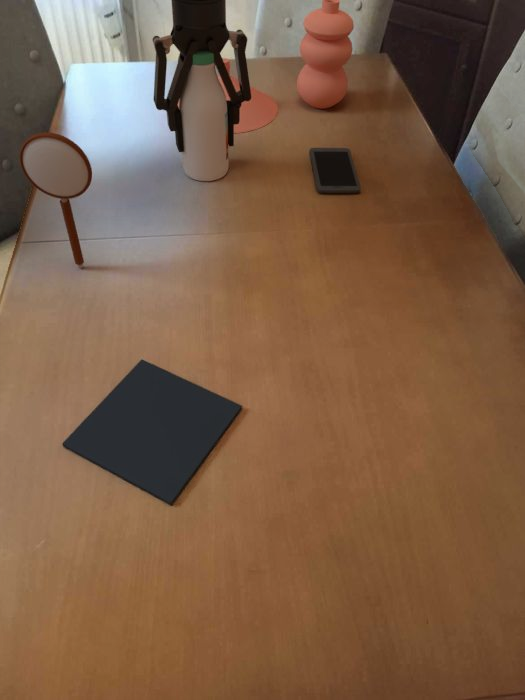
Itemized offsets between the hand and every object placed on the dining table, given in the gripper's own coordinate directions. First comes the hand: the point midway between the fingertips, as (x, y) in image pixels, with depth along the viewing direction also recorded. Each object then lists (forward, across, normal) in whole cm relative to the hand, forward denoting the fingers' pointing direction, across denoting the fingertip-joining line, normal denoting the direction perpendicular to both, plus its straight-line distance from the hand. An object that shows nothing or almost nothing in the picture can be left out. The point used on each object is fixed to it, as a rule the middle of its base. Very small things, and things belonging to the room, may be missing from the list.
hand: (204, 145), depth 99 cm
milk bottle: (+5, 0, 0) cm, 5 cm away
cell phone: (+5, +21, -6) cm, 22 cm away
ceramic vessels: (+5, +16, +21) cm, 27 cm away
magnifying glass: (+5, -23, -21) cm, 31 cm away
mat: (+5, -17, -51) cm, 54 cm away
